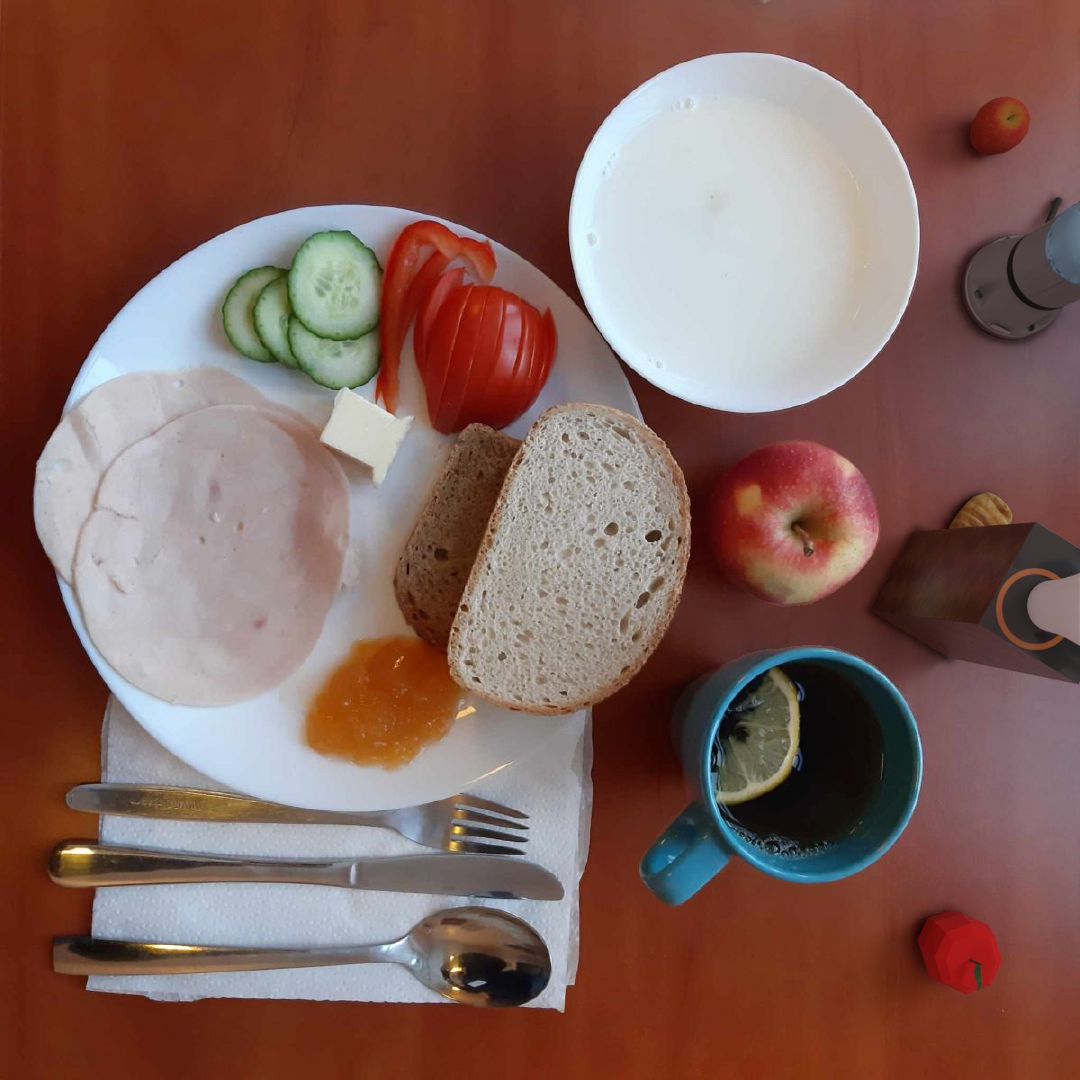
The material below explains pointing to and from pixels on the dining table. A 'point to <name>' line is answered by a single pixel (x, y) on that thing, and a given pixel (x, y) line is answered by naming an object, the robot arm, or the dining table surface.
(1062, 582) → the cup
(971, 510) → the pastry
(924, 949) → the apple
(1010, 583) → the hob plate
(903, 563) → the stove stand
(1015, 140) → the apple
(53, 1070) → the dining table surface
